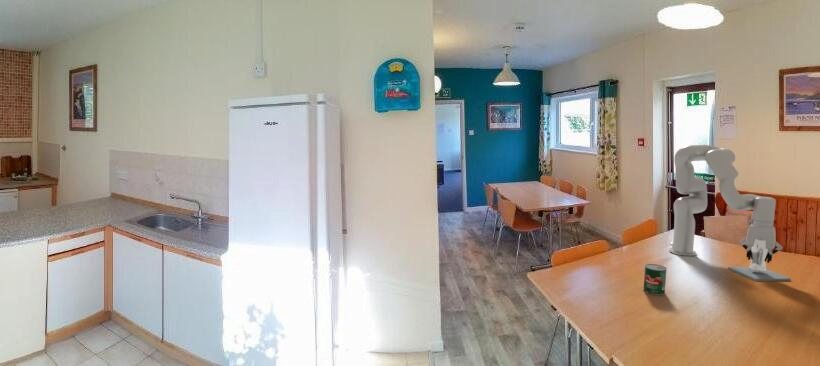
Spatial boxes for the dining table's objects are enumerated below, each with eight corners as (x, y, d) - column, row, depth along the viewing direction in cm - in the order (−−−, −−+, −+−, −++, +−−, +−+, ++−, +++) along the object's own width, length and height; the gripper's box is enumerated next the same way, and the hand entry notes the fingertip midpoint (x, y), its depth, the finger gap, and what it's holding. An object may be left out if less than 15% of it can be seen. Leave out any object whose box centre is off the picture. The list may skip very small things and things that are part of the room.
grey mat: (727, 269, 199) (727, 267, 198) (759, 268, 199) (760, 266, 199) (755, 281, 183) (755, 279, 183) (790, 280, 183) (790, 278, 183)
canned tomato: (645, 294, 170) (646, 268, 169) (641, 287, 178) (643, 263, 176) (666, 296, 168) (668, 270, 166) (662, 289, 175) (664, 265, 174)
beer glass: (760, 267, 194) (763, 236, 192) (771, 272, 187) (774, 240, 185) (744, 266, 194) (747, 236, 192) (755, 271, 187) (758, 240, 185)
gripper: (737, 221, 191) (734, 258, 193) (787, 227, 179) (783, 266, 181) (739, 219, 196) (736, 255, 199) (788, 224, 184) (783, 262, 187)
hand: (758, 260), depth 190 cm, fingers closed on beer glass, 6 cm apart
